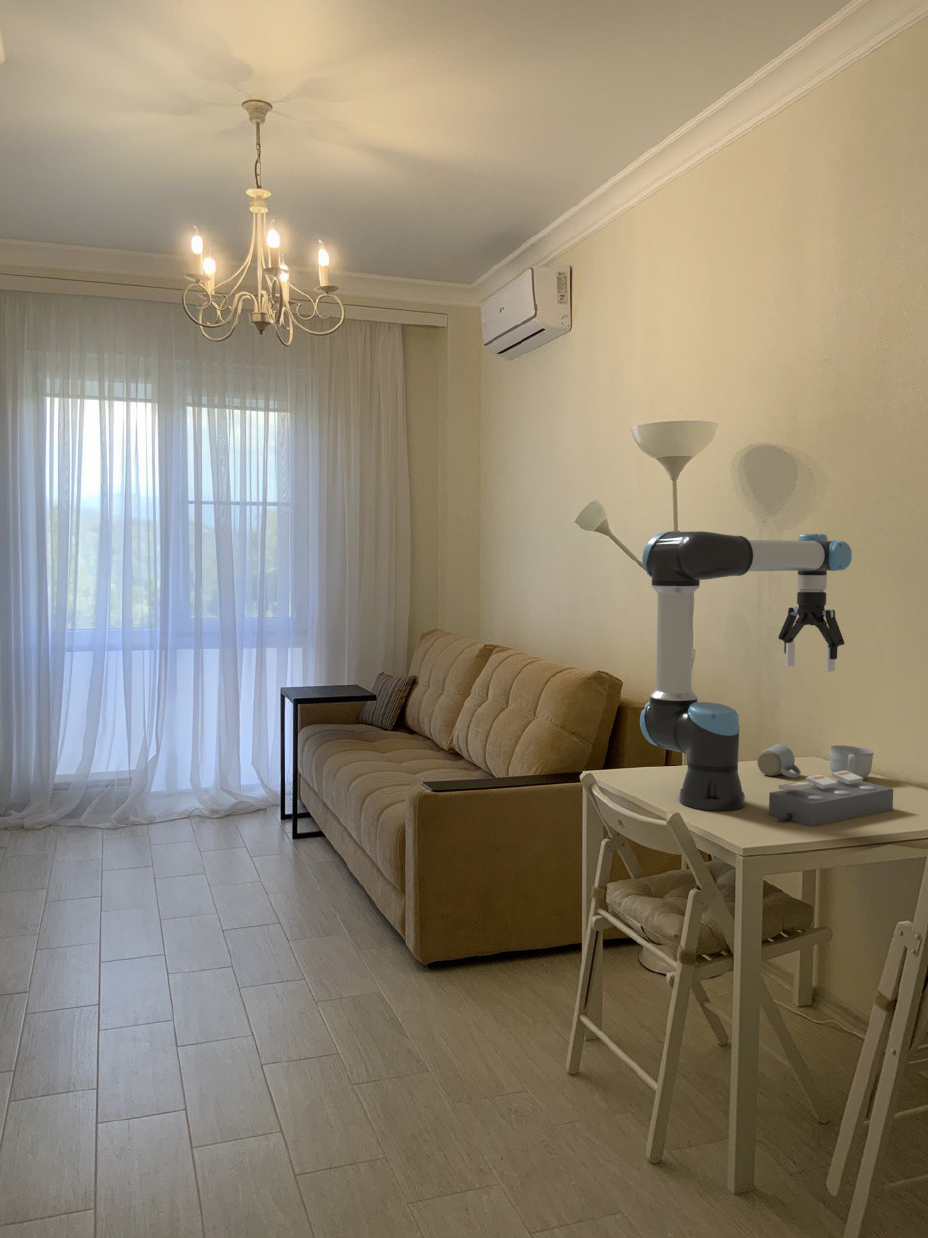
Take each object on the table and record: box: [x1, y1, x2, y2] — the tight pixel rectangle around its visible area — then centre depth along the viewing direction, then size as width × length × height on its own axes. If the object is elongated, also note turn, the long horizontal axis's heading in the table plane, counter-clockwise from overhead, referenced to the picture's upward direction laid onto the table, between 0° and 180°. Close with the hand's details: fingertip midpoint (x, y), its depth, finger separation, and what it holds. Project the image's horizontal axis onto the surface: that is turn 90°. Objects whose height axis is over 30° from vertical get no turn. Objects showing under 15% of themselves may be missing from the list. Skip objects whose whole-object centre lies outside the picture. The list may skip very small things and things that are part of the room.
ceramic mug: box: [756, 743, 801, 779], centre depth 274 cm, size 11×8×8 cm
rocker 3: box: [830, 770, 864, 784], centre depth 243 cm, size 5×5×1 cm
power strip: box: [768, 780, 894, 827], centre depth 235 cm, size 32×12×5 cm, turn 121°
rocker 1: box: [778, 781, 812, 791], centre depth 234 cm, size 5×5×1 cm
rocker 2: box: [805, 774, 838, 789], centre depth 239 cm, size 5×5×1 cm
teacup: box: [829, 744, 874, 780], centre depth 270 cm, size 14×11×8 cm
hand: (809, 668), depth 279 cm, fingers open, 13 cm apart
